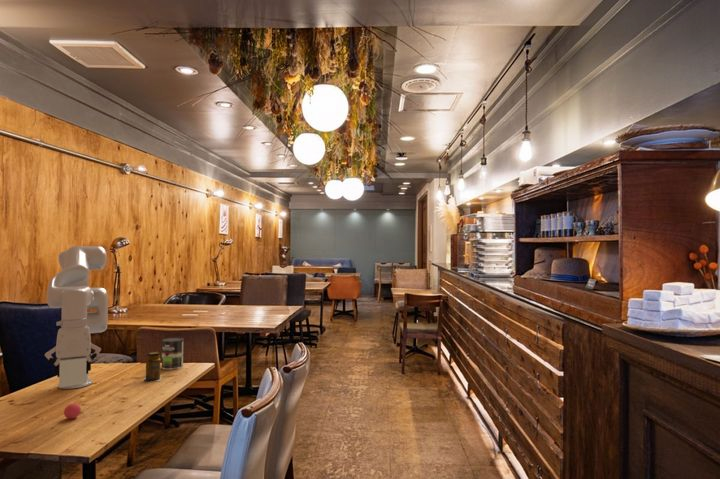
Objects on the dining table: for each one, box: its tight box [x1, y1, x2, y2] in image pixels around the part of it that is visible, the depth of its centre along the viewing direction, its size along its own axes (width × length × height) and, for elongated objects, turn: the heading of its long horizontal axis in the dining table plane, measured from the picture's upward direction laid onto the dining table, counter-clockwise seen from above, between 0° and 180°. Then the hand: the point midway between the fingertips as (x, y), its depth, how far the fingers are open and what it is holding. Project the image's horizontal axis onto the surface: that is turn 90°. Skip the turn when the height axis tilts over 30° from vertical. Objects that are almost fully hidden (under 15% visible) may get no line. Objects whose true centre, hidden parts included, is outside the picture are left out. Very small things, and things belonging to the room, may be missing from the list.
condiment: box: [143, 351, 162, 383], centre depth 205 cm, size 7×8×12 cm
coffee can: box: [160, 337, 185, 371], centre depth 227 cm, size 10×10×14 cm
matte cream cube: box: [58, 357, 87, 388], centre depth 155 cm, size 8×8×9 cm
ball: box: [63, 403, 82, 420], centre depth 156 cm, size 5×5×5 cm
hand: (73, 374), depth 155 cm, fingers closed on matte cream cube, 7 cm apart
